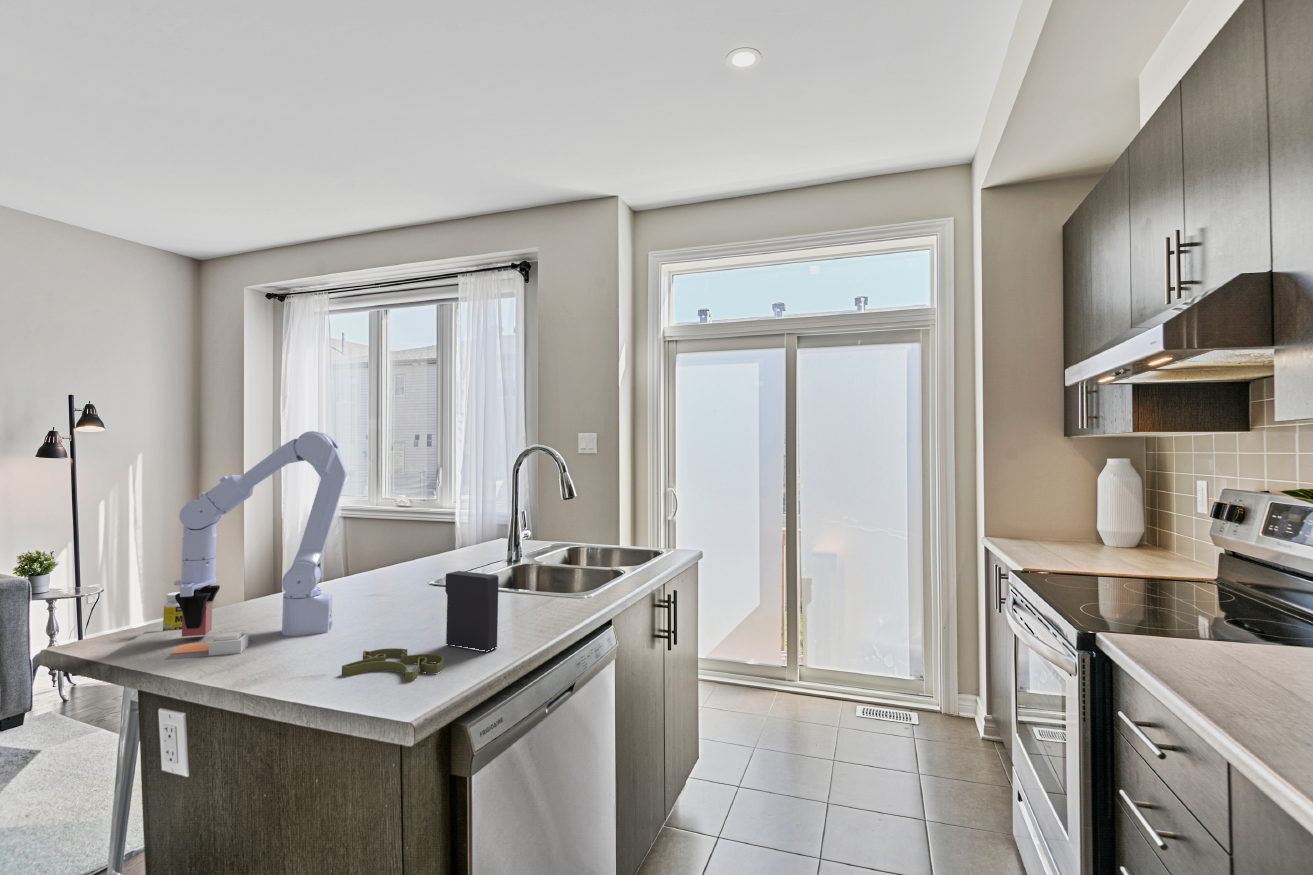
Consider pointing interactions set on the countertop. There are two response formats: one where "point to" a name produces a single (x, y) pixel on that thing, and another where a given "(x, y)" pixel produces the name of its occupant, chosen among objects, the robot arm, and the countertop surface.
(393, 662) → the cookie cutter
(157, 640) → the countertop surface
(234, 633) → the button
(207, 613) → the block
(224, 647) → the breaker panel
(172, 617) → the supplement bottle
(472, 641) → the charcoal upright slab
